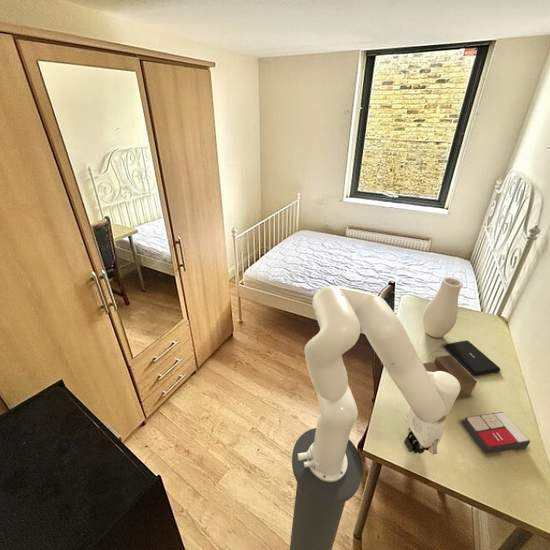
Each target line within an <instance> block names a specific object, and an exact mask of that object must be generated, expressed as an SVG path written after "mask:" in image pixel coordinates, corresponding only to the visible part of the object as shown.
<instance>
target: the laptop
mask: <svg viewBox="0 0 550 550" xmlns="http://www.w3.org/2000/svg"><path fill="white" fill-rule="evenodd" d="M443 347H444V348H445V349H446V350H447V351H448V352H449V353H450V355H451V356H452V357H453V358H454V359H455V360H456V361H457V362H458V363H459V364H460V365H461V366H462V367H463V368H464V369H465V370H466V371H467V372H469V373H470V374H471V375H472V376H474V377H479V376H485V375H490V374H494V373H499V372H501V367H499V366H498V365H497V364H496V363H495V362H493V361H492V359H490V358H489V357H488V356H487V355H485V353H484V352H482V351H481V350H480V349H478V348H477V347H476V346H475V345H474V344H473V343H472V342H471V341H469V340H462V341H456V342H455V341H454V342H449V343H446V344H444V346H443Z"/></svg>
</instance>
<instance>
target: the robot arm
mask: <svg viewBox="0 0 550 550" xmlns="http://www.w3.org/2000/svg"><path fill="white" fill-rule="evenodd" d="M311 303H312V304H311V305H312V309H313V312H314V315H315V319H316V321H317V324H318V326H319V331H318V332H317V334H315V335H314V336H313V337H311V339H310V340H308V341H307V343H306V344H305V345H304V350H303V351H304V359H305V363H306V367H307V371H308V374H309V378H310V381H311V384H312V386H313V388H314V390H315V393H316V396H317V399H316V400H317V403H318V406H319V412H320V415H319V416H318V418H317V421H316V425H315V428H316V433H315V440H314V443H313V444H312V445H311V446H310V448H309V450H308V451H307V452H305V453H299V454H298V460H299V461H301V460H304V459H307V462H304V467H309V468H310V470H311V471H312V473H313V474H314V475H315V476H316V477H317V478H319V479H320V480H323V481H326V482H335V481H338V480H340V479H341V478H342V477H343V476H344V475H345V473H346V470H347V465H348V462H347V457H346V454H345V452H346V448H347V444H348V439H349V440H350V435H351V431H352V429H353V427H354V425H355V424H356V422H357V420H358V418H359V417H358V416H359V413H358V407H357V403H356V401H355V397H354V395H353V393H352V390H351V388H350V385H349V377H348V372H347V368H346V365H345V363H344V360H343V355H344V354H345V353H346V352H347V351H349V350H351V349H352V348H353V347H354V346H355V345H356V343H357V342H358V340H359V338H360V335H361V329H362V332H363V334H364V335H365V337H366V339H367V341H368V342H369V344H370V346H371V347H372V349H373V351H374V352H375V354H376V356H377V357H378V358H379V360H380V362H381V364H382V366H383V367H384V368H385V371H386V372H387V373H388V376H389V377H390V378H391V380H392V381H393V383H394V384H395V386H396V387H397V388H398V390H399V392H400V393H401V394H402V396H403V397H404V398H405V399H404V400H405V401H406V402H407V404H408V406H409V409H408V411H407V412H406V415H405V423H406V424H407V427H408V428H407V429H408V433H407V436H406V437H409V436H410V435H413V434H414V435H415V437H416V438H417V440H418V441H419V444H417V445H416V447H415V449H414V452H413V453H414V454H419V455H421V454H424V452H425V451H428V452H429V454H431V455H433V456H434V455H437V454H438V445H439V443H440V442H441V441H442V438H443V435H444V431H445V427H446V419H447V417H448V415H449V413H450V411H451V409H452V408H453V405H454V404H455V402H456V400H457V399H458V398H457V396H458V394H459V392H460V389H461V387H460V383H459V382H458V380H457V379H456V378H455V377H454V376H452V375H451V374H449V373H447V372H443V371H437V372H428V371H426V369H425V367H424V365H423V362H422V360H421V358H420V356H419V355H418V352H417V350H416V349H415V347H414V345H413V343H412V341H411V338H410V337H409V335H408V333H407V331H406V329H405V326H404V324H403V323H402V322H401V321H402V320H400V318H399V317H398V315H397V314H396V313H395V312H394V310H393V309H392V308H391V306H390V305H389V304H388V303H387V301H386V300H385V299H383V298H382V297H381V296H378V295H376V294H373V293H369V292H366V291H361V290H357V289H353V288H352V289H351V288H348V287H342V286H336V285H329V286H324V287H322V288H319V289H318V290H317V291H316V292H315V293H314V295H313V298H312V302H311ZM456 398H457V399H456ZM323 477H324V478H323Z"/></svg>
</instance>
